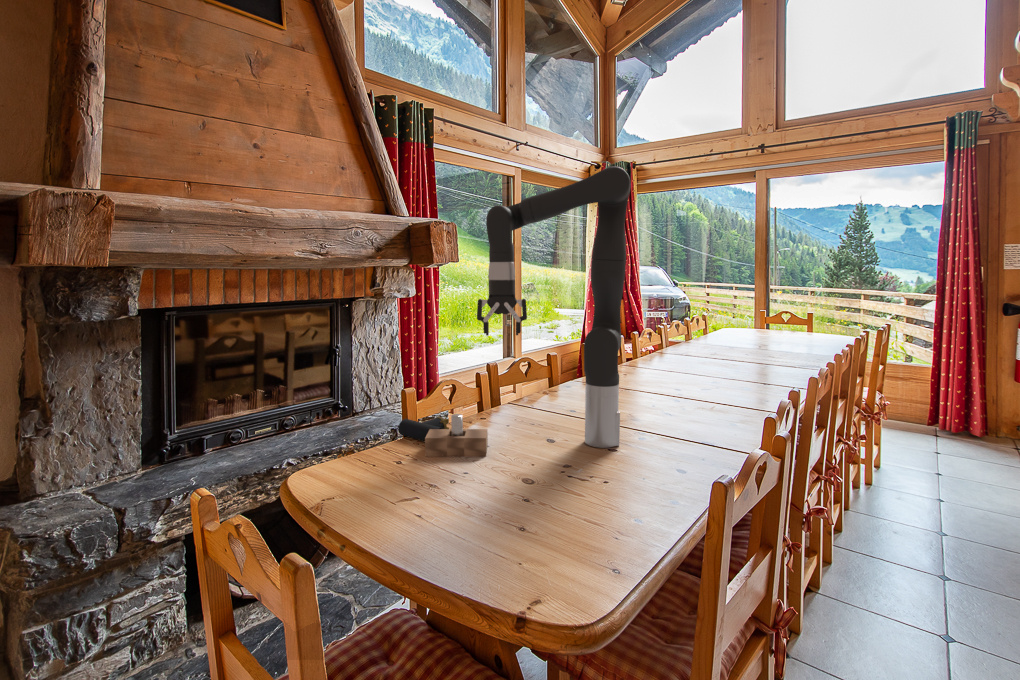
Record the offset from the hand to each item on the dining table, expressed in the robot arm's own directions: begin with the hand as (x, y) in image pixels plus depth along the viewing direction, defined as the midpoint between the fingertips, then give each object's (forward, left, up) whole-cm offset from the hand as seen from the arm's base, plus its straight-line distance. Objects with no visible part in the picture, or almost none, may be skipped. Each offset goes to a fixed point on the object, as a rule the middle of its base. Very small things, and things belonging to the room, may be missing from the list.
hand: (502, 335), depth 154 cm
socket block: (+12, +13, -30) cm, 35 cm away
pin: (+12, +13, -30) cm, 35 cm away
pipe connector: (+21, 0, -31) cm, 37 cm away
